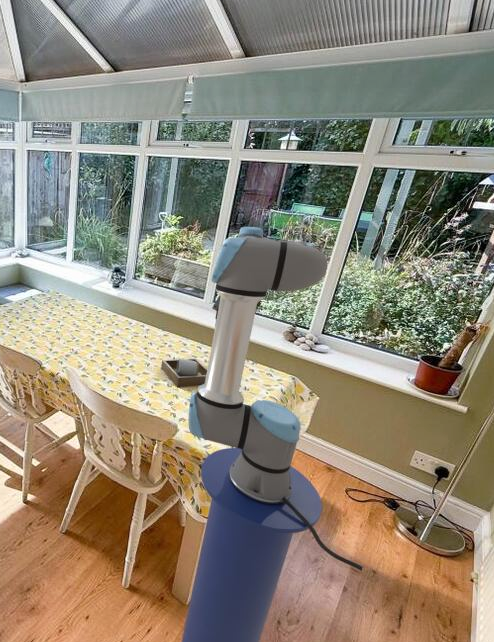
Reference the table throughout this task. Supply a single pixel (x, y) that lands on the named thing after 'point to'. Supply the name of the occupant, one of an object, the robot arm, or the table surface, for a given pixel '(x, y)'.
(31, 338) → the table surface
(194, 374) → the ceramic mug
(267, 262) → the robot arm
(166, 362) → the walnut holder
